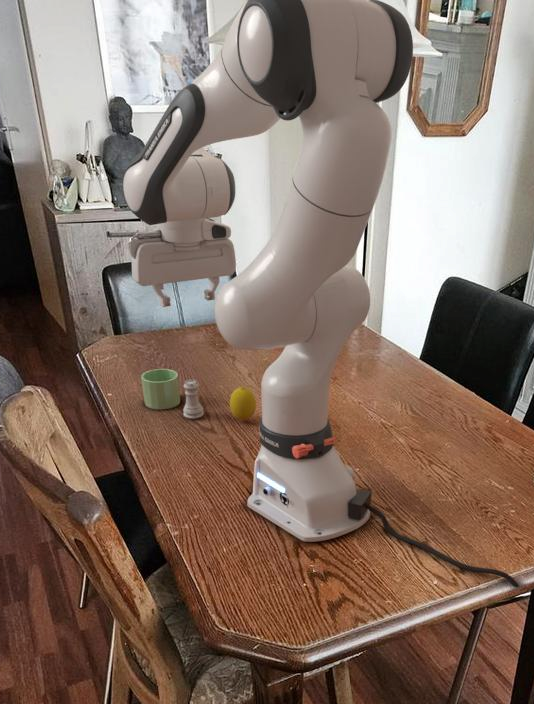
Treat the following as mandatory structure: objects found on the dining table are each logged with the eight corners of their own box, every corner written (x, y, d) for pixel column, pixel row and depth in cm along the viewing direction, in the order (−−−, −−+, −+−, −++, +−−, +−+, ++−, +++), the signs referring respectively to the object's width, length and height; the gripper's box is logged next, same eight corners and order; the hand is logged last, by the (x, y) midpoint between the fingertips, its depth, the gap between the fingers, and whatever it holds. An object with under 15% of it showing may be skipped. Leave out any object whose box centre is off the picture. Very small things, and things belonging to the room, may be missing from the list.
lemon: (235, 414, 139) (233, 380, 135) (259, 417, 139) (258, 383, 134) (227, 424, 135) (225, 390, 131) (251, 428, 134) (250, 393, 130)
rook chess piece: (193, 421, 135) (189, 387, 131) (179, 415, 138) (175, 381, 133) (208, 415, 139) (205, 381, 134) (194, 409, 141) (191, 375, 137)
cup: (186, 404, 143) (183, 377, 139) (152, 412, 139) (149, 385, 135) (172, 392, 148) (169, 366, 145) (139, 399, 144) (135, 373, 141)
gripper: (134, 236, 109) (143, 314, 117) (238, 227, 120) (240, 300, 127) (121, 229, 114) (131, 305, 121) (223, 221, 124) (226, 292, 131)
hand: (188, 302), depth 124 cm, fingers open, 8 cm apart
